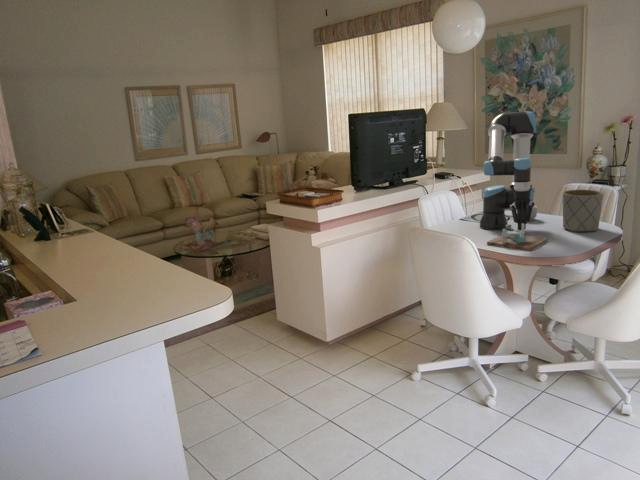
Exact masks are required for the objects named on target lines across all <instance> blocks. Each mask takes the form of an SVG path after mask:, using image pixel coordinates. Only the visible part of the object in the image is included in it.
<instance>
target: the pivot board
mask: <svg viewBox="0 0 640 480" xmlns="http://www.w3.org/2000/svg"><path fill="white" fill-rule="evenodd" d="M511 228H512V224H508V225H506V229H508V230H510V229H511ZM508 236H520V234H519V231H516V232H503V231H502V232H501V234H500V235H499V236H496V237H494V238H493V239H490V240H489V241H487V242H486V245H488V246H494V247H500V248H507V249H513V250H520V251H525V252H526V251H528V252H532V251H534V250H535V249H536V248H538V247H540V246H542V245H544V244H546V243H547V242H548V241H549V238H548V237H541V236H532V235H526V234H524V236H525V237H526V242H521V243H517V242H516V241H514V240H513V239H511V238H510V237H508Z"/></svg>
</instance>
